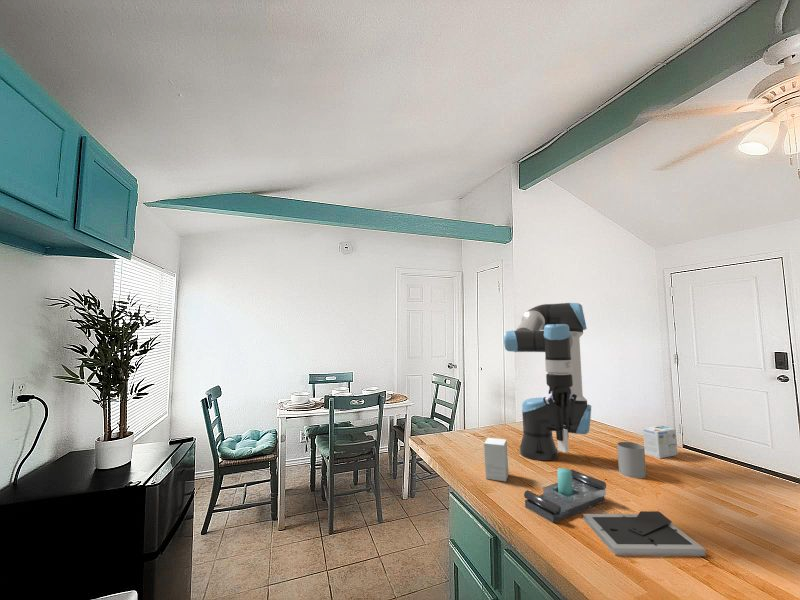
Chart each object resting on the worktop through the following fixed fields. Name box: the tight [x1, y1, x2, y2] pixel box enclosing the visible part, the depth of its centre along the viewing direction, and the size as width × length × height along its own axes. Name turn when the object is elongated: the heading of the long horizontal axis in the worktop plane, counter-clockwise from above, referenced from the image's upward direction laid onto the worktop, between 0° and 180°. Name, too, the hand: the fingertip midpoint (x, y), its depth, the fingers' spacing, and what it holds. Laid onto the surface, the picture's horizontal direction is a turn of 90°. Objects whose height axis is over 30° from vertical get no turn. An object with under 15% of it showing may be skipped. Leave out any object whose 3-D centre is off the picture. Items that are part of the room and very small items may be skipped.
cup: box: [616, 441, 647, 479], centre depth 130 cm, size 8×8×10 cm
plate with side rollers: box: [523, 469, 607, 524], centre depth 108 cm, size 11×24×6 cm, turn 118°
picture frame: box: [582, 510, 707, 557], centre depth 91 cm, size 16×3×21 cm
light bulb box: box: [642, 425, 678, 459], centre depth 148 cm, size 11×7×11 cm, turn 108°
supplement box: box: [483, 437, 509, 482], centre depth 130 cm, size 7×7×13 cm
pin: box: [556, 467, 573, 497], centre depth 108 cm, size 4×4×10 cm
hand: (563, 450), depth 109 cm, fingers closed
